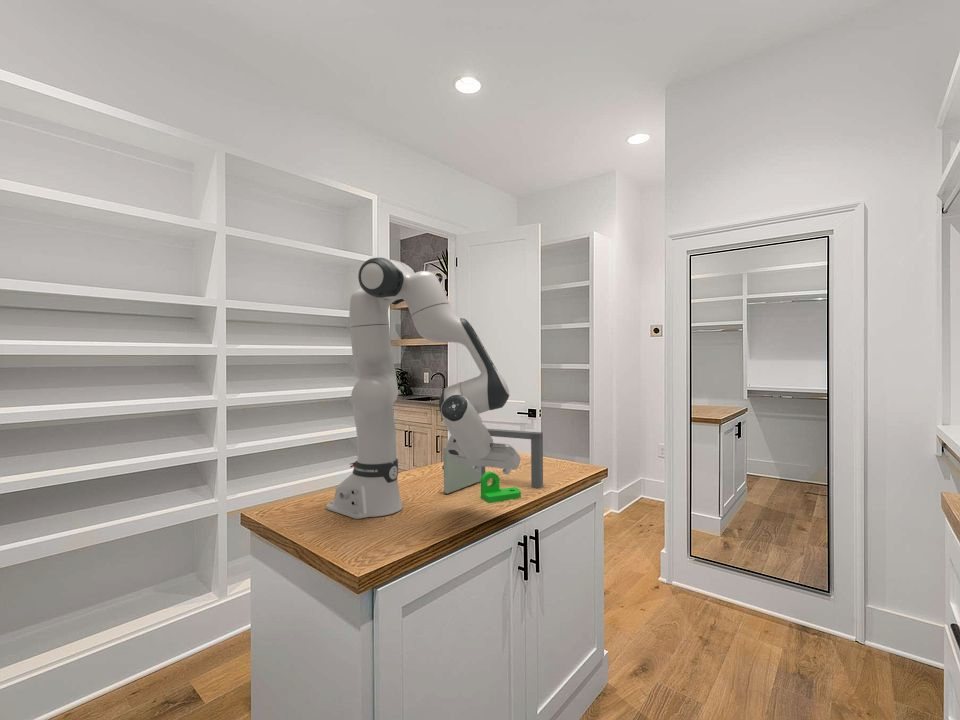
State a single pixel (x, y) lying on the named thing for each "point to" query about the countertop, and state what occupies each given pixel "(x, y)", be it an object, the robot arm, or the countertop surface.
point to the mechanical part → (496, 489)
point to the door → (458, 474)
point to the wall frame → (535, 452)
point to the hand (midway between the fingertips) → (492, 470)
